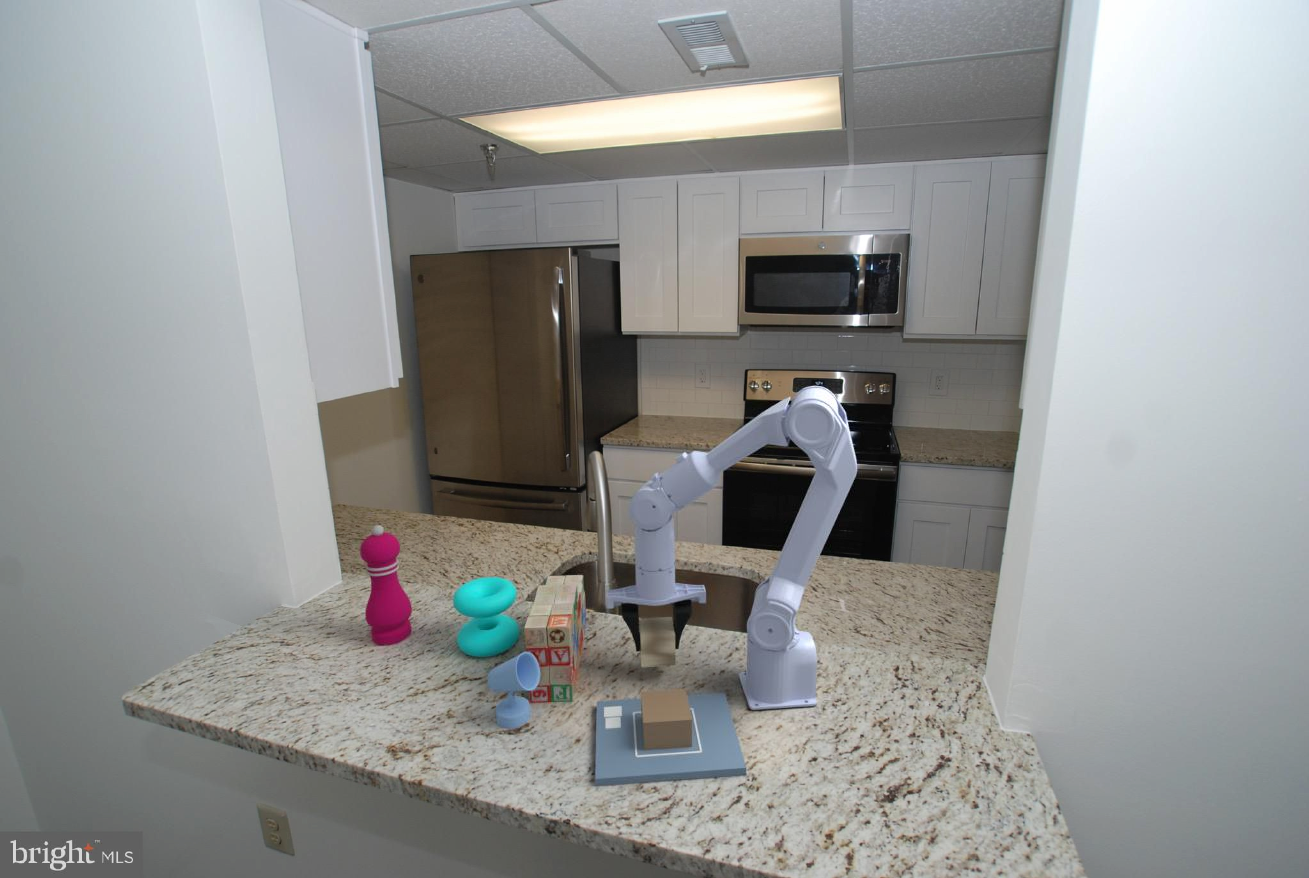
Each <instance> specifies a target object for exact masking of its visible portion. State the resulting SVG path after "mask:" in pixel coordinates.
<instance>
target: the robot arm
mask: <svg viewBox="0 0 1309 878" xmlns="http://www.w3.org/2000/svg"><path fill="white" fill-rule="evenodd" d="M790 400H791V396H789V397H786V398H784V399H782V400H781V401H779V402H778V403H776V404H774V405H772V406H770V407H769V408H768V409H766V410H764V411H762V412H761V413H760V414H758V415H757V416H756V417H754V418H753V419H751V420H750V421H749V422H748V423H746V424H744V426H742V427H740V428H739V429H738V430H736V432H734V433H733V434H731V435H730V436H728V437H727V438H726V439H725V440H723V441H722V442H720V443H719V444H718V445H716V446H715V447H714V448H712V449H711V450H710V451H709V452H703V451H698V450H694V451H691V452H690V453H689V454H688V453H687V452H685V451H684V452H683V453H681V454H680V455H678V456H677V457H676V458H675V460H676V463H674V464H673V465H671V466H669V468H667V469H666V470H664V471H663V472H662V473H660V474H659V472H656V473H655V474H652V476H650V480H648V481H646V482H645V483H644V484H643V485H642V486H641V487H640V488H639V489H638V491H636V492H635V493H634V494H633V496H632V497H631V498H630V500H629V502H628V508H627V509H628V510H627V512H628V515H629V516H628V517H630V520H631V521H632V523H633V524H634V562H635V585H629V586H624V587H621V588H617V589H616V588H615V589H611V590H610V589H609V590H606V591H605V600H606V601H605V603H606V605H605V606H606V609H614V608H615V607H620V608H621V609H620V610H621V617H622V619H623V621H624V622H625V624H626V626H627V627H628V629H629V631H630V634H631V635H632V639H633V642H634V645H635V652H637V653H638V652H639V653H640V651H641V644H640V634H639V619H640V615H639V605H643V606H651V607H652V606H653V607H659V606H665V605H669V604H672V621H673V626H674V632H675V650H679V649H680V644H681V638H682V635H683V633H684V630H685V627H686V625H687V624H688V622H689V620H690V619H691V617H692V615H693V606H692V602H697V603H699V604H706V603H707V592H706V587H705V585H704V584H688V583H679V582H676V560H675V559H676V556H675V555H676V553H675V550H676V549H675V544H676V543H675V530H674V528H675V527H674V524H675V523H674V515H673V514H674V512H676V511H682V510H683V509H685V508H686V507H688V506H690V505H691V504H692V503H695V502H696V501H697V500H699V499H700V498H701V497H703V496H704V495H706V494H708V493H710V492H711V491H712V490H714V489H715V488H716V487H718V486H719V482H720V475H721V474H722V472H724V471H726V470H727V469H729V468H730V467H732V466H734V465H735V464H737V463H739V462H740V461H742V460H743V459H745V458H747V457H748V456H750V455H751V454H753V453H755V452H757V451H759V449H761V448H763V447H765V446H766V445H773V446H777V447H778V446H779V447H789V444H790V441H792V442H793V443H794V444H795V445H796V446H797V447H798V448H799V449H801V450H802V451H803V452H804V453H805V454H806V455H807V457H808V458H809V460H810V461H811V464H812V465H813V467H814V470H815V474H814V476H813V478H812V480H811V483H810V485H809V487H808V489H807V492H806V494H805V497H804V499H803V500H802V503H801V506H800V508H799V511H798V513H797V515H796V517H795V519H794V522H793V524H792V527H791V529H790V531H789V533H788V536H787V538H786V540H785V543H784V544H783V547H782V549H781V551H780V554H779V556H778V559H777V561H776V564H775V565H774V566H773V567H772V569H771V572H770V573H769V576H767V578H766V579H765V580H764V581H762V582H761V583H759V585H758V586H757V588H756V589H755V592H754V600H753V604H752V608H751V612H750V615H749V616H748V619H747V621H746V622H747V623H746V630H747V631H746V635H747V636H746V671H743V672H742V671H741V672H739V673H738V678H739V681H740V684H741V687H742V690H743V693H744V696H745V698H746V701H747V705H748V708H749V709H750V710H753V711H757V710H758V711H759V710H771V709H773V710H774V709H785V708H786V709H788V708H801V707H814V706H817V704H818V701H817V698H816V694H817V693H816V691H817V673H818V655H817V648H816V643H815V641H814V637H813V636H812V634H811V633H810V632H809V631H806V630H805V631H804V630H803V631H801V630H798V628H797V625H796V620H797V619H796V617H797V614H798V611H799V608H800V606H801V601H802V598H803V594H804V591H805V588H806V586H807V584H808V582H809V579H810V577H811V576H812V573H813V570H814V568H815V565H816V564H817V562H818V560H819V557H820V555H821V553H822V551H823V549H824V546H825V544H826V543H827V540H828V538H829V535H830V534H831V531H832V529H833V527H834V525H835V522H836V520H837V518H838V515H839V514H840V511H841V509H842V507H843V506H844V503H845V500H846V498H847V496H848V494H849V492H850V489H851V487H852V486H853V483H854V480H855V479H856V477H857V472H858V463H857V462H858V461H857V456H856V453H855V449H854V448H855V447H854V444H853V439H852V435H851V430H850V427H849V422H848V416H847V412H846V411H845V409H844V407H843V406H842V404H841V403H840V401H839V400H838V398H837V397H836V396H835V394H834V393H833V392H832V391H831V390H829V389H828V388H827V387H824V386H822V385H821V386H818V385H812V386H811V385H810V386H806V387H804V388H802V389H800V390H799V391H798V392H797V393H796V394H794V396H793V398H792V401H791V402H790ZM789 402H790V404H789Z"/></svg>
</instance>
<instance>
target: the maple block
mask: <svg viewBox="0 0 1309 878" xmlns="http://www.w3.org/2000/svg"><path fill="white" fill-rule="evenodd" d="M639 634H640V644H641V651H639V654H640V655H639V656H640V663H641V668H652V667H654V668H655V667H667V666H669V667H670V666H676V664H677V663H676V662H677V661H676V660H677V659H676V649H675V632H674V626H673V616H664V617H662V616H661V617H660V616H659V617H648V618H646V617H645V618H639Z"/></svg>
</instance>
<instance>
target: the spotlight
mask: <svg viewBox="0 0 1309 878" xmlns="http://www.w3.org/2000/svg"><path fill="white" fill-rule="evenodd" d="M539 680H540V667H539V664H538V661H537V659H536V658H535V656H534V655H533V654H531V653H530V652H526V651H524V652H522V653H520V654H518V655H516V656H514V657H512V658H511V659H508V660H507V661H504V662H503V663H502V664H499V665H498V666H496V667H494V668H492V669H491V670H490V671H489V672H488V674H487V685H488V687H489V688H490V690H491V691H493V692H507V693H508V697H506V698H504V699H502V700H500V701H499V702H498V703H497V705H496V707H495V716H496V717H495V719H496V722H497V725H498V726H499V727H500V728H504V729H516V728H519V727H521V726H523V725H525V724H526V723H528V721H529V719H531V708H530V701H529V699H527V698H526V697H524V696H520V695H518V696H517V695H515V692H523V691H524V692H529V691H531V690H534V689H535V688H536V687H537V685H538V683H539Z"/></svg>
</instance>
